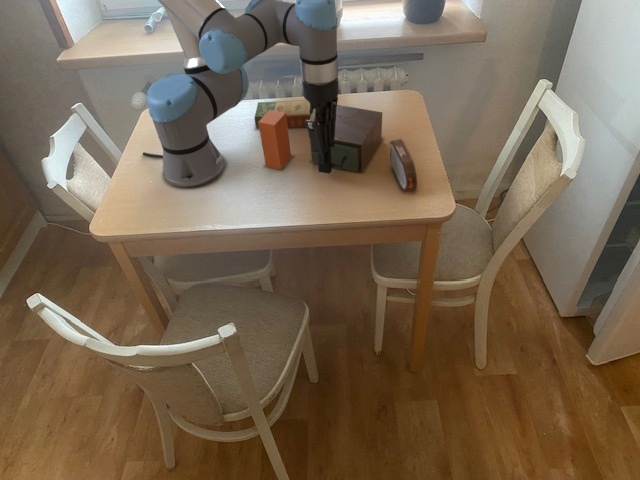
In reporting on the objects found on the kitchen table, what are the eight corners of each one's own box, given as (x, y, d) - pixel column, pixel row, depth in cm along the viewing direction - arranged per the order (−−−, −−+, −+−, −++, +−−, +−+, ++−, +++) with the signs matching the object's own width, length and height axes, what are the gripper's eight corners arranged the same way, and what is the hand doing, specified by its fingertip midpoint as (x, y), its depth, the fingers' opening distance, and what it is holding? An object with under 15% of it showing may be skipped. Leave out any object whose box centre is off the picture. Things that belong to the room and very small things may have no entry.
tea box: (281, 169, 121) (274, 125, 111) (265, 166, 122) (257, 122, 113) (291, 156, 124) (285, 112, 115) (276, 153, 126) (269, 109, 117)
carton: (311, 127, 134) (310, 113, 131) (255, 129, 135) (253, 116, 132) (312, 111, 140) (311, 98, 137) (259, 114, 141) (256, 101, 138)
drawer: (350, 183, 114) (350, 161, 109) (304, 172, 118) (301, 151, 113) (376, 140, 126) (377, 119, 121) (333, 132, 130) (332, 111, 125)
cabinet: (361, 172, 118) (361, 145, 112) (311, 161, 122) (309, 135, 116) (381, 139, 128) (382, 112, 122) (334, 130, 132) (333, 104, 126)
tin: (416, 197, 110) (420, 167, 104) (403, 199, 110) (406, 169, 104) (398, 160, 120) (400, 131, 114) (386, 161, 120) (388, 133, 114)
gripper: (316, 62, 102) (321, 153, 119) (289, 89, 94) (299, 183, 111) (348, 66, 100) (349, 159, 116) (324, 94, 92) (329, 190, 108)
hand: (325, 171), depth 113 cm, fingers closed
